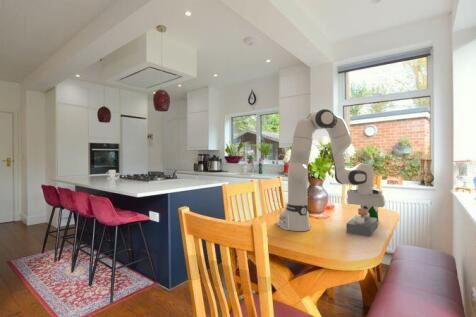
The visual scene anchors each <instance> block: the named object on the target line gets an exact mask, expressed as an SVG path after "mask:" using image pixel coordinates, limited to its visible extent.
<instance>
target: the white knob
mask: <svg viewBox="0 0 476 317" xmlns="http://www.w3.org/2000/svg"><path fill="white" fill-rule="evenodd" d="M354 217H355V216H354ZM355 224H359V225H364V218H361V217H355Z"/></svg>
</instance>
